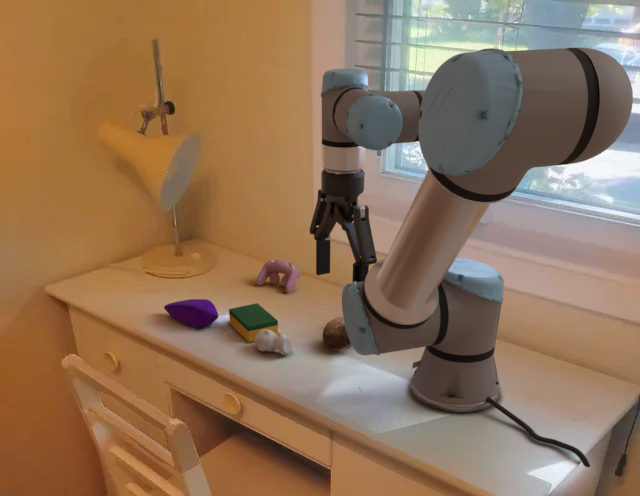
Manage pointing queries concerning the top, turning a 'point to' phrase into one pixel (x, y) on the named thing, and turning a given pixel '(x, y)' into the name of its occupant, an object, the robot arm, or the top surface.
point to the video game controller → (273, 270)
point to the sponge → (252, 320)
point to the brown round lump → (336, 334)
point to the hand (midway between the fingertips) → (340, 285)
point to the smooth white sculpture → (272, 342)
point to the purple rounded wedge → (193, 312)
